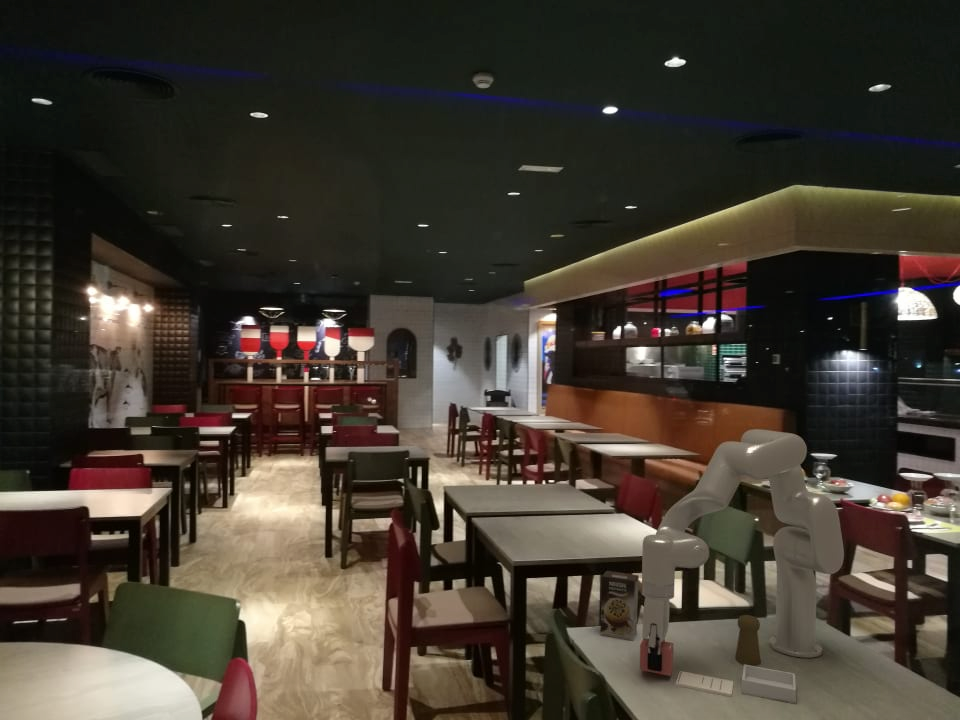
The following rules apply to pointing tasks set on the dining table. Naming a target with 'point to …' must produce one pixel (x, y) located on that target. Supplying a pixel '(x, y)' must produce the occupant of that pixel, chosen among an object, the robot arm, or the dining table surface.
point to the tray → (769, 684)
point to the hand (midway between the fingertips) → (656, 665)
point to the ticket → (705, 683)
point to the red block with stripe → (666, 657)
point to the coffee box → (619, 605)
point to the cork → (748, 641)
